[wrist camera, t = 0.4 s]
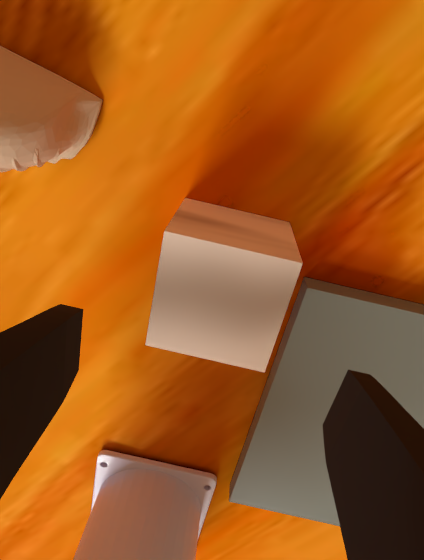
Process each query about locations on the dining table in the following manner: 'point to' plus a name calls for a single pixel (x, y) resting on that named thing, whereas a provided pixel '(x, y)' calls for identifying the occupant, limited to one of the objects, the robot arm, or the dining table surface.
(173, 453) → the dining table surface
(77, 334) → the robot arm
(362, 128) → the dining table surface
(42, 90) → the decorative ornament
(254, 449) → the board
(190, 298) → the cream cube
